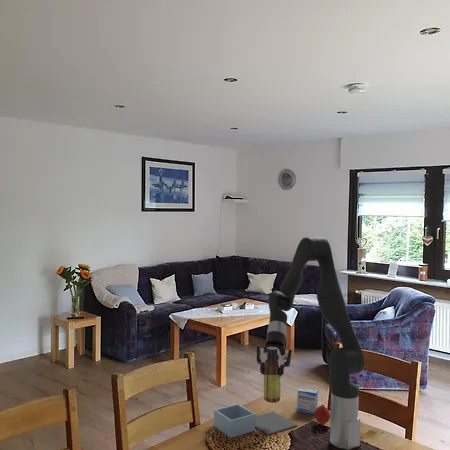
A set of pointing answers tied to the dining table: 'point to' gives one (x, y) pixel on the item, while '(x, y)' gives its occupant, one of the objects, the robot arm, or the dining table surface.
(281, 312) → the robot arm
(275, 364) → the sauce bottle
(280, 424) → the mat
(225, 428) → the tub
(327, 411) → the onion
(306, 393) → the medicine box
